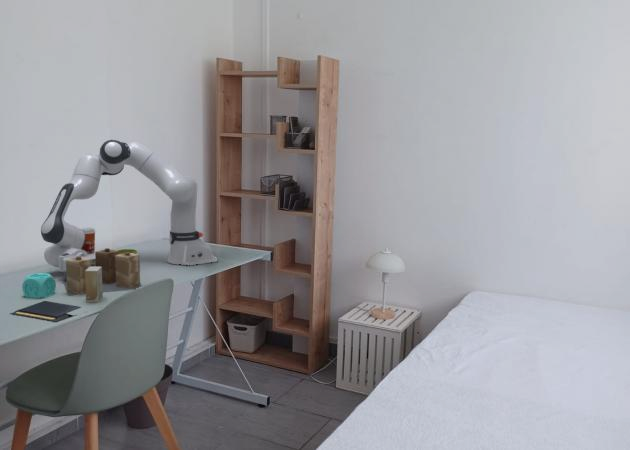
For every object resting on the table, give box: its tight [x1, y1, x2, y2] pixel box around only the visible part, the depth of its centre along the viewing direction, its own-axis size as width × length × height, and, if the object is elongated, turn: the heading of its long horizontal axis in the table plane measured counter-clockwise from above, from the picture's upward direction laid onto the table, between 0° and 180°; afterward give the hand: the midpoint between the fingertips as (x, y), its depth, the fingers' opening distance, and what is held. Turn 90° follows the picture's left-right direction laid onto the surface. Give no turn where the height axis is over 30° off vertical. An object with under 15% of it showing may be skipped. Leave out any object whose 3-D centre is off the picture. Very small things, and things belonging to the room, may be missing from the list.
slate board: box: [62, 281, 143, 297], centre depth 231 cm, size 27×20×1 cm
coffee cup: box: [79, 227, 97, 255], centre depth 269 cm, size 8×8×15 cm
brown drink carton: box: [94, 247, 119, 284], centre depth 235 cm, size 6×6×13 cm
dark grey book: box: [9, 300, 82, 323], centre depth 201 cm, size 20×2×15 cm
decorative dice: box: [21, 272, 57, 299], centre depth 216 cm, size 8×8×8 cm
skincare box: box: [85, 266, 104, 303], centre depth 212 cm, size 6×4×12 cm
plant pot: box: [115, 248, 138, 254], centre depth 256 cm, size 9×9×9 cm
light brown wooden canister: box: [65, 256, 92, 296], centre depth 221 cm, size 6×6×13 cm
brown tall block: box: [115, 252, 141, 289], centre depth 230 cm, size 6×6×13 cm
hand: (101, 264), depth 236 cm, fingers open, 8 cm apart
